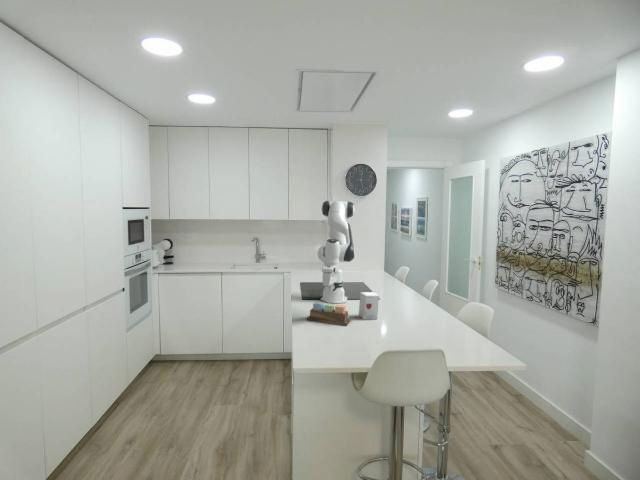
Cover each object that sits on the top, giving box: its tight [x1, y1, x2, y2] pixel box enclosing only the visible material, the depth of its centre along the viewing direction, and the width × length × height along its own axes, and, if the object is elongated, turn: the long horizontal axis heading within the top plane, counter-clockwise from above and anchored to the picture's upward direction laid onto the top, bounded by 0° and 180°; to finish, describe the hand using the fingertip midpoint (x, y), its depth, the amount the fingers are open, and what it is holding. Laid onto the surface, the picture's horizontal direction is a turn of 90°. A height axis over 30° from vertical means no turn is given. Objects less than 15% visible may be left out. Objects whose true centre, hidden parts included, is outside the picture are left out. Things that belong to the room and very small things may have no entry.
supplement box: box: [358, 291, 380, 321], centre depth 241 cm, size 9×9×15 cm
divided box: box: [305, 307, 352, 327], centre depth 230 cm, size 10×24×6 cm, turn 73°
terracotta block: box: [335, 304, 347, 314], centre depth 228 cm, size 5×5×5 cm
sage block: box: [324, 302, 336, 313], centre depth 230 cm, size 5×5×5 cm
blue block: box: [312, 301, 325, 311], centre depth 232 cm, size 5×5×5 cm
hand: (330, 291), depth 229 cm, fingers closed
